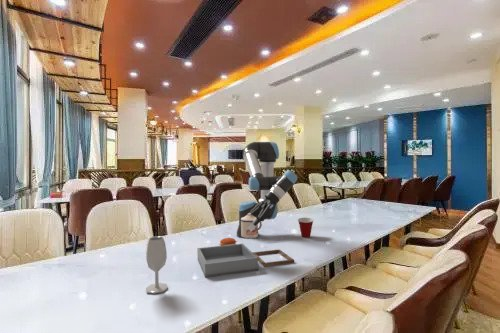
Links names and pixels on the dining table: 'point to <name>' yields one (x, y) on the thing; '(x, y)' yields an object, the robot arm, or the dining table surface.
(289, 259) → the brown wooden frame
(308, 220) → the plastic cup
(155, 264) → the wineglass
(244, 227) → the teacup with lid
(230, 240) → the hamburger
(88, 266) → the dining table surface
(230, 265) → the bus tub
